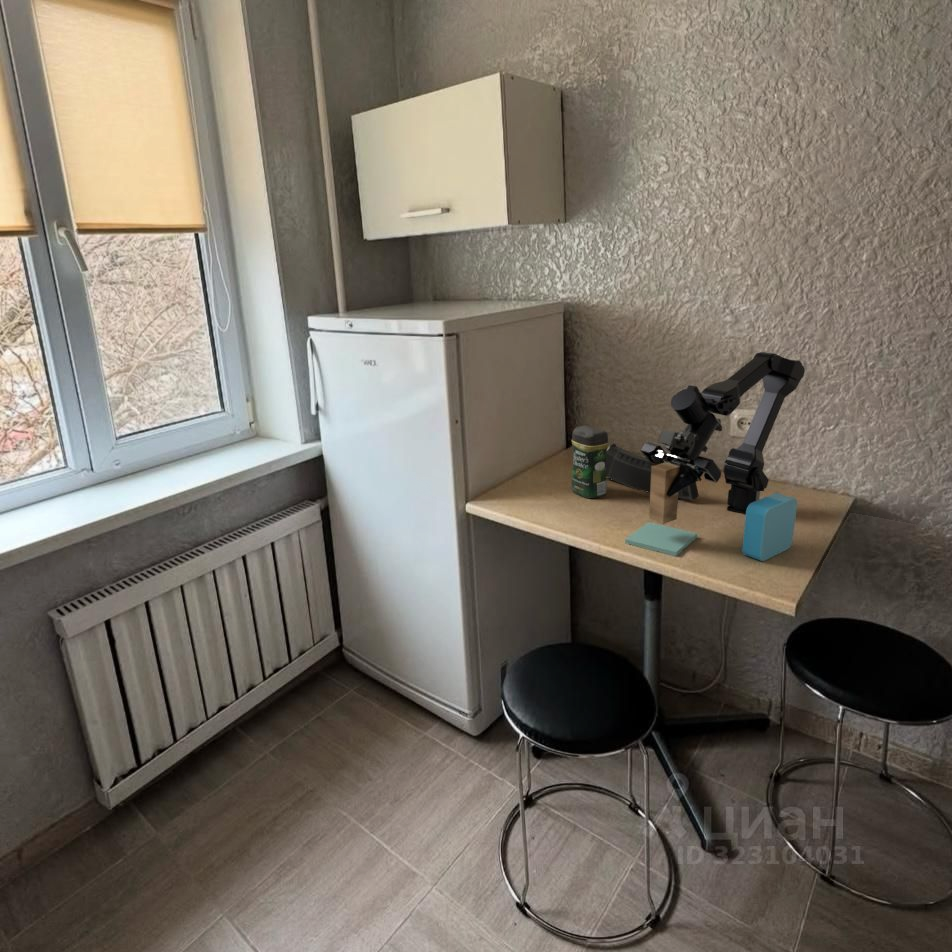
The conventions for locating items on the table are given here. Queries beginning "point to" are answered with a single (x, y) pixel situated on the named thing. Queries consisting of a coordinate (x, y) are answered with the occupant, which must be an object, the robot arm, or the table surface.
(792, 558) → the table surface
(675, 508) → the walnut block
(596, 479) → the coffee jar
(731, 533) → the table surface
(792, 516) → the data package
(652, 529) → the teal board
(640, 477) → the magazine
